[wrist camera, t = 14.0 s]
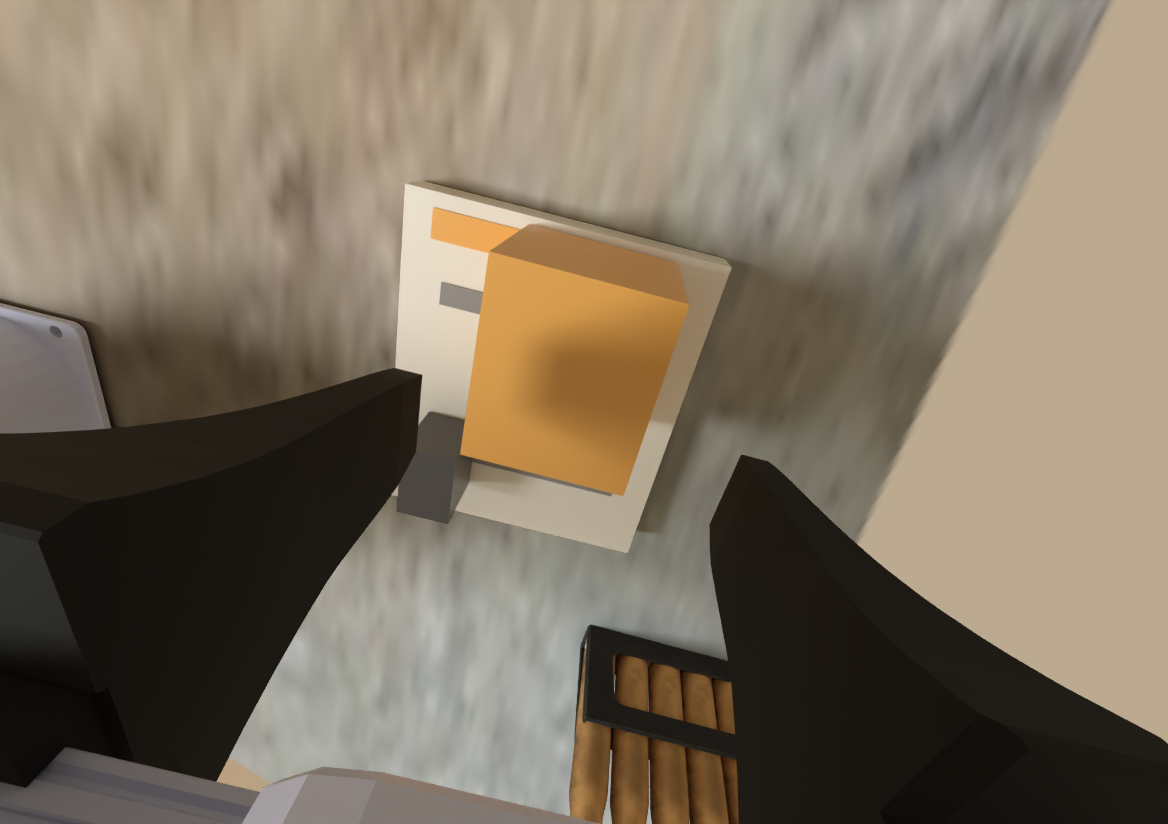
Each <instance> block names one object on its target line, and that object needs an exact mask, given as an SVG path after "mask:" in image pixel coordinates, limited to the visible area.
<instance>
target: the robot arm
mask: <svg viewBox="0 0 1168 824" xmlns="http://www.w3.org/2000/svg"><path fill="white" fill-rule="evenodd" d="M421 386H422V375H421V374H417V373H413V372H409V371H405V370H401V369H397V368H393V369H388V370H384V371H380V372H376V373H373V374H370V375H366V376H363V377H360V378H357V379H354V380H351V381H347V382H344V383H341V384H338V385H335V386H331V387H328V388H325V389H322V390H319V391H315V392H312V393H308V394H304V395H301V396H297V397H293V398H289V399H286V400H282V401H278V402H275V403H271V404H267V405H263V406H259V407H254V408H250V409H245V410H240V411H235V412H230V413H224V414H219V415H213V416H208V417H202V418H195V419H187V420H180V421H172V422H164V423H156V424H148V425H140V426H131V427H120V428H111V425H110V421H109V417H108V413H107V410H106V406H105V402H104V398H103V394H102V390H101V386H100V382H99V378H98V375H97V371H96V367H95V363H94V359H93V355H92V351H91V347H90V343H89V340H88V336H87V333H86V331H85V329H84V328H83V327H82V326H81V325H79V324H78V323H76V322H74V321H70V320H66V319H62V318H58V317H54V316H50V315H46V314H42V313H38V312H34V311H30V310H26V309H22V308H18V307H14V306H10V305H6V304H2V303H0V824H600V823H595V822H591V821H587V820H583V819H578V818H574V817H570V816H566V815H561V814H557V813H553V812H549V811H544V810H540V809H536V808H532V807H527V806H523V805H519V804H515V803H511V802H506V801H502V800H498V799H494V798H489V797H485V796H481V795H477V794H472V793H468V792H464V791H460V790H455V789H451V788H447V787H443V786H438V785H434V784H430V783H426V782H421V781H417V780H413V779H409V778H405V777H400V776H396V775H392V774H388V773H383V772H374V771H363V770H352V769H341V768H330V767H321V768H318V769H315V770H311V771H308V772H305V773H302V774H298V775H295V776H292V777H289V778H285V779H282V780H280V781H278V782H275V783H273V784H271V785H268V786H266V787H264V788H263V789H262V791H261V792H257V791H253V790H249V789H245V788H240V787H236V786H232V785H227V784H223V783H219V782H216V781H217V779H218V777H219V775H220V773H221V772H222V770H223V767H224V766H225V763H226V762H227V760H228V758H229V756H230V754H231V752H232V750H233V748H234V746H235V744H236V742H237V740H238V738H239V736H240V734H241V732H242V730H243V728H244V727H245V725H246V723H247V721H248V719H249V717H250V715H251V714H252V712H253V710H254V708H255V706H256V704H257V703H258V701H259V699H260V697H261V695H262V693H263V691H264V690H265V688H266V686H267V684H268V682H269V680H270V678H271V677H272V675H273V673H274V671H275V669H276V668H277V666H278V664H279V662H280V661H281V659H282V657H283V655H284V654H285V652H286V650H287V648H288V647H289V645H290V643H291V641H292V640H293V638H294V636H295V634H296V633H297V631H298V629H299V627H300V626H301V624H302V622H303V621H304V619H305V617H306V616H307V614H308V612H309V611H310V609H311V607H312V606H313V604H314V602H315V601H316V599H317V597H318V596H319V594H320V592H321V591H322V589H323V587H324V586H325V584H326V582H327V581H328V579H329V578H330V576H331V575H332V574H333V572H334V571H335V569H336V568H337V566H338V565H339V563H340V562H341V561H342V559H343V558H344V557H345V556H346V554H347V553H348V552H349V550H350V549H351V548H352V546H353V545H354V544H355V542H356V541H357V540H358V538H359V537H360V536H361V534H362V533H363V532H364V531H365V529H366V528H367V527H368V525H369V524H370V523H371V521H372V520H373V519H374V517H375V516H376V515H377V513H378V512H379V511H380V509H381V508H382V507H383V505H384V504H385V503H386V501H387V500H388V499H389V497H390V496H391V495H392V493H393V492H394V490H395V489H396V488H397V486H398V484H399V483H400V481H401V479H402V477H403V476H404V474H405V472H406V470H407V468H408V466H409V465H410V463H411V461H412V459H413V457H414V455H415V453H416V447H417V435H418V423H419V411H420V399H421ZM710 557H711V568H712V574H713V580H714V586H715V591H716V597H717V602H718V608H719V613H720V618H721V624H722V629H723V634H724V640H725V645H726V651H727V656H728V662H729V670H730V677H731V687H732V700H733V713H734V726H735V744H736V764H737V784H738V822H739V824H1168V744H1167V743H1166V742H1165V741H1164V740H1163V739H1161V738H1160V737H1158V736H1156V735H1154V734H1152V733H1151V732H1149V731H1147V730H1145V729H1143V728H1141V727H1139V726H1137V725H1135V724H1133V723H1132V722H1130V721H1128V720H1125V719H1124V718H1122V717H1120V716H1118V715H1116V714H1114V713H1113V712H1111V711H1109V710H1107V709H1105V708H1103V707H1101V706H1099V705H1097V704H1095V703H1093V702H1092V701H1090V700H1088V699H1086V698H1084V697H1082V696H1080V695H1078V694H1076V693H1075V692H1073V691H1071V690H1069V689H1067V688H1065V687H1064V686H1061V685H1060V684H1058V683H1056V682H1055V681H1053V680H1051V679H1050V678H1048V677H1046V676H1044V675H1043V674H1041V673H1039V672H1038V671H1036V670H1034V669H1032V668H1030V667H1029V666H1027V665H1026V664H1024V663H1022V662H1020V661H1019V660H1017V659H1015V658H1014V657H1012V656H1010V655H1009V654H1007V653H1005V652H1004V651H1002V650H1001V649H999V648H998V647H996V646H994V645H993V644H991V643H990V642H988V641H986V640H985V639H983V638H981V637H980V636H978V635H977V634H975V633H974V632H972V631H971V630H969V629H968V628H966V627H965V626H963V625H962V624H961V623H959V622H957V621H956V620H955V619H953V618H952V617H950V616H949V615H947V614H946V613H944V612H943V611H941V610H940V609H938V608H937V607H936V606H934V605H933V604H931V603H930V602H929V601H927V600H925V599H924V598H923V597H921V596H920V595H919V594H918V593H916V592H915V591H914V590H912V589H911V588H910V587H909V586H907V585H906V584H904V583H903V582H902V581H901V580H899V579H898V578H897V577H896V576H894V575H893V574H892V573H890V572H889V571H888V570H886V569H885V568H884V567H882V565H880V564H879V563H878V562H877V561H876V560H874V559H873V558H872V557H871V556H870V555H869V554H867V553H866V552H865V551H864V550H863V549H862V548H861V547H860V546H858V545H857V544H856V543H855V542H854V541H853V540H852V539H850V538H849V537H848V536H847V535H846V534H845V533H844V532H843V531H842V530H841V529H840V528H838V527H837V526H836V525H835V524H834V523H833V522H832V521H831V520H830V519H829V518H828V517H827V516H826V515H825V514H824V513H823V512H822V511H821V510H820V509H819V508H818V507H817V506H815V505H814V504H813V503H812V502H811V501H810V500H809V499H808V498H807V497H806V496H805V495H804V494H803V493H802V492H801V491H800V490H799V489H798V488H797V487H796V486H795V485H794V484H793V483H792V482H791V481H790V480H789V479H788V478H787V477H786V476H785V475H784V474H783V473H782V472H780V471H779V470H778V469H777V468H776V467H775V466H773V465H772V464H771V463H770V462H768V461H765V460H761V459H757V458H753V457H749V456H745V455H741V456H740V458H739V461H738V463H737V465H736V467H735V470H734V472H733V474H732V476H731V478H730V481H729V483H728V485H727V487H726V489H725V492H724V494H723V496H722V498H721V501H720V503H719V505H718V507H717V509H716V512H715V514H714V516H713V518H712V520H711V523H710Z"/></svg>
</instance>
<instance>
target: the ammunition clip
mask: <svg viewBox="0 0 1168 824" xmlns="http://www.w3.org/2000/svg"><path fill="white" fill-rule="evenodd" d="M615 675H616V677H615ZM614 677H615V694H614ZM648 699H649V712H648ZM574 738H575V743H574V753H573V762H572V771H571V780H570V790H569V801H570V817H574V818H578V819H583V820H587V821H591V822H595V823H600V824H602V820H603V815H604V810H605V806H606V801H607V795H608V781H609V763H610V750H612V768H611V791H610V809H611V817H612V824H646V820H647V814H648V807H649V760H650V810H651V820H652V824H689V818H690V824H739V822H738V784H737V764H736V744H735V726H734V713H733V700H732V687H731V677H730V670H729V662H728V661H725V660H722V659H718V658H714V657H710V656H707V655H703V654H699V653H695V652H692V651H688V650H684V649H680V648H676V647H673V646H669V645H665V644H661V643H658V642H654V641H650V640H646V639H643V638H639V637H635V636H631V635H628V634H624V633H620V632H616V631H612V630H609V629H605V628H601V627H597V626H594V625H590V626H588V628H587V631H586V633H585V636H584V638H583V641H582V643H581V647H580V662H579V677H578V692H577V707H576V722H575V737H574Z"/></svg>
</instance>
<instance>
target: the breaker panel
mask: <svg viewBox="0 0 1168 824" xmlns="http://www.w3.org/2000/svg"><path fill="white" fill-rule="evenodd" d="M528 224H533V225H536V226H540V227H544V228H548V229H551V230H555V231H559V232H563V233H566V234H570V235H574V236H578V237H581V238H585V239H589V240H593V241H596V242H600V243H604V244H608V245H611V246H615V247H619V248H623V249H626V250H630V251H634V252H638V253H641V254H645V255H649V256H653V257H656V258H660V259H664V260H668V261H671V262H675V263H677V265H678V268H679V271H680V274H681V278H682V281H683V284H684V288H685V291H686V294H687V297H688V301H689V304H690V305H689V308H688V311H687V314H686V317H685V319H684V322H683V325H682V328H681V331H680V334H679V337H678V340H677V343H676V346H675V348H674V351H673V354H672V357H671V360H670V363H669V366H668V369H667V372H666V374H665V377H664V380H663V383H662V386H661V389H660V392H659V395H658V398H657V401H656V403H655V406H654V409H653V412H652V415H651V418H650V421H649V424H648V427H647V430H646V432H645V435H644V438H643V441H642V444H641V447H640V450H639V453H638V456H637V458H636V461H635V464H634V467H633V470H632V473H631V476H630V479H629V482H628V485H627V487H626V490H625V493H624V496H620V495H616V494H613V493H609V492H605V491H601V490H597V489H593V488H589V487H585V486H581V485H577V484H573V483H570V482H566V481H562V480H558V479H554V478H550V477H546V476H542V475H538V474H534V473H530V472H527V471H523V470H519V469H515V468H511V467H507V466H503V465H499V464H495V463H491V462H488V461H484V460H480V459H476V458H473V459H472V466H471V473H470V480H469V484H468V486H467V488H466V490H465V492H464V494H463V495H462V497H461V499H460V501H459V503H458V505H457V507H456V509H455V511H458V512H462V513H466V514H470V515H474V516H479V517H483V518H487V519H491V520H495V521H499V522H503V523H507V524H511V525H515V526H519V527H523V528H527V529H531V530H535V531H539V532H543V533H547V534H551V535H555V536H559V537H563V538H567V539H572V540H576V541H580V542H584V543H588V544H592V545H596V546H600V547H604V548H608V549H612V550H616V551H620V552H624V553H628V551H629V548H630V545H631V542H632V540H633V537H634V534H635V531H636V529H637V526H638V523H639V521H640V518H641V515H642V512H643V510H644V507H645V504H646V501H647V499H648V496H649V493H650V490H651V488H652V485H653V482H654V479H655V477H656V474H657V471H658V468H659V466H660V463H661V460H662V457H663V455H664V452H665V449H666V446H667V444H668V441H669V438H670V436H671V433H672V430H673V427H674V425H675V422H676V419H677V416H678V414H679V411H680V408H681V405H682V403H683V400H684V397H685V394H686V392H687V389H688V386H689V383H690V381H691V378H692V375H693V372H694V370H695V367H696V364H697V362H698V359H699V356H700V353H701V351H702V348H703V345H704V342H705V340H706V337H707V334H708V331H709V329H710V326H711V323H712V320H713V318H714V315H715V312H716V309H717V307H718V304H719V301H720V298H721V296H722V293H723V290H724V287H725V285H726V282H727V279H728V277H729V274H730V271H731V268H732V267H731V266H730V265H729V263H728V262H727V261H726V259H724V258H720V257H716V256H712V255H708V254H704V253H701V252H697V251H693V250H689V249H685V248H681V247H677V246H674V245H670V244H666V243H662V242H658V241H654V240H650V239H646V238H643V237H639V236H635V235H631V234H627V233H623V232H619V231H615V230H612V229H608V228H604V227H600V226H596V225H592V224H588V223H584V222H581V221H577V220H573V219H569V218H565V217H561V216H557V215H554V214H550V213H546V212H542V211H538V210H534V209H530V208H526V207H523V206H519V205H515V204H511V203H507V202H503V201H499V200H495V199H492V198H488V197H484V196H480V195H476V194H472V193H468V192H464V191H461V190H457V189H453V188H449V187H445V186H441V185H437V184H434V183H430V182H426V181H418V182H411V183H405V199H404V217H403V236H402V254H401V273H400V292H399V310H398V329H397V347H396V366H395V368H397V369H401V370H405V371H409V372H413V373H417V374H421V375H422V386H421V399H420V411H419V423H420V422H421V421H422V420H423V419H424V417H425V416H426V415H427V414H428V412H433V413H437V414H441V415H445V416H449V417H453V418H457V419H461V420H465V416H466V409H467V402H468V395H469V388H470V381H471V374H472V367H473V360H474V353H475V346H476V339H477V332H478V324H479V317H480V310H481V303H482V296H483V289H484V282H485V275H486V268H487V261H488V254H489V251H490V250H492V249H493V248H495V247H496V246H498V245H499V244H500V243H502V242H503V241H505V240H506V239H508V238H509V237H511V236H512V235H514V234H515V233H517V232H518V231H520V230H521V229H523V228H524V227H525V226H527V225H528ZM419 423H418V425H419ZM392 495H394V496H398V486H397V488H396V489H395V490H394V492H393V493H392Z"/></svg>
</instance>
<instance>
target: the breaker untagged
mask: <svg viewBox="0 0 1168 824" xmlns="http://www.w3.org/2000/svg"><path fill="white" fill-rule="evenodd" d="M464 423H465V420H461V419H457V418H453V417H449V416H445V415H441V414H437V413H433V412H428V414H427V415H426V416H425V417H424V419H423V420H422V421H421V422H420V423H419V425H418V435H417V447H416V453H415V455H414V457H413V459H412V461H411V463H410V465H409V466H408V468H407V470H406V472H405V474H404V476H403V477H402V479H401V481H400V483H399V484H398V498H397V512H401V513H405V514H409V515H413V516H417V517H421V518H425V519H430V520H434V521H438V522H442V523H446V524H448V523H449V521H450V519H451V517H452V515H453V513H454V511H455V509H456V507H457V505H458V503H459V501H460V499H461V497H462V495H463V494H464V492H465V490H466V488H467V486H468V484H469V480H470V473H471V466H472V459H473V458H472V457H468V456H464V455H460V451H461V444H462V437H463V430H464Z"/></svg>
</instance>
